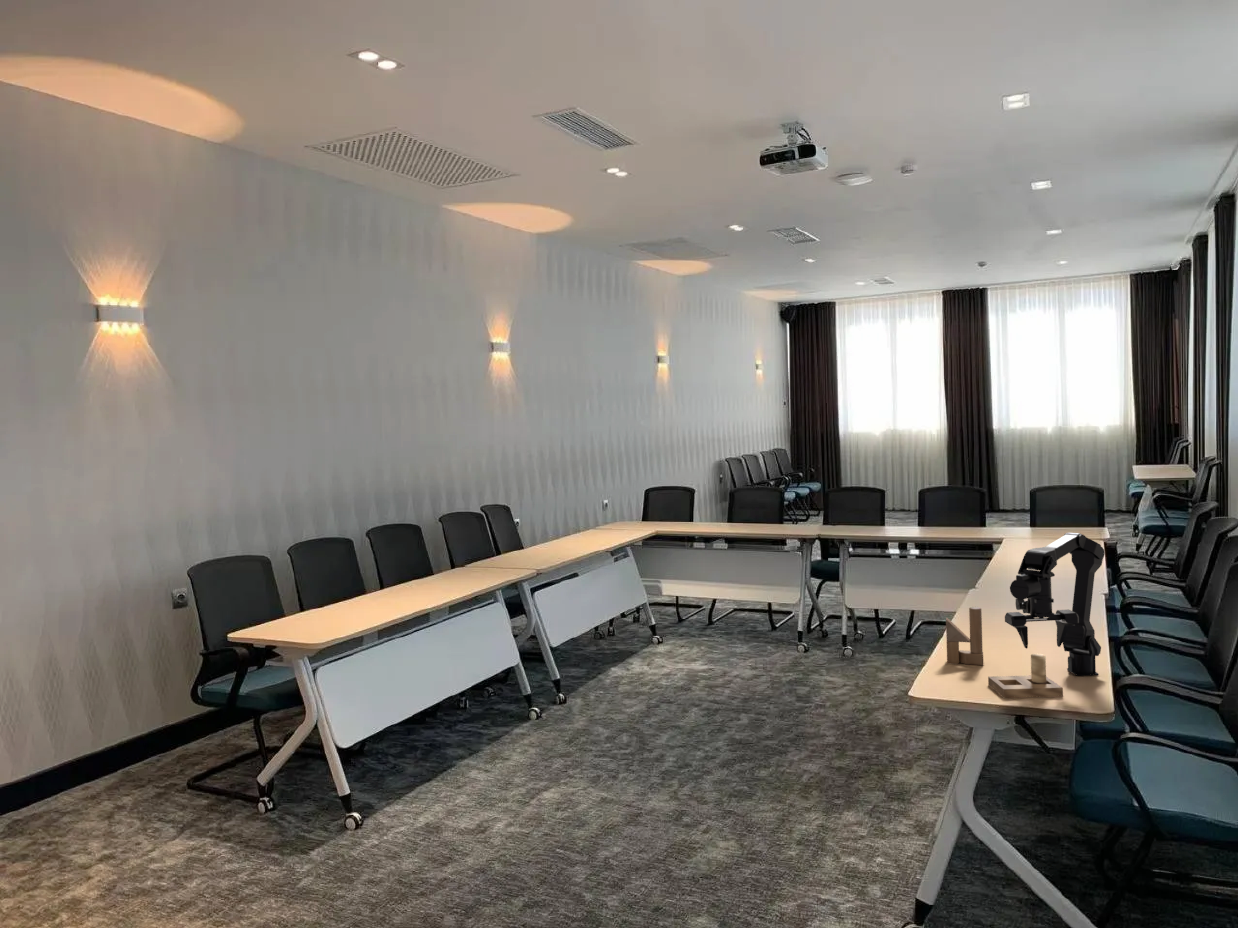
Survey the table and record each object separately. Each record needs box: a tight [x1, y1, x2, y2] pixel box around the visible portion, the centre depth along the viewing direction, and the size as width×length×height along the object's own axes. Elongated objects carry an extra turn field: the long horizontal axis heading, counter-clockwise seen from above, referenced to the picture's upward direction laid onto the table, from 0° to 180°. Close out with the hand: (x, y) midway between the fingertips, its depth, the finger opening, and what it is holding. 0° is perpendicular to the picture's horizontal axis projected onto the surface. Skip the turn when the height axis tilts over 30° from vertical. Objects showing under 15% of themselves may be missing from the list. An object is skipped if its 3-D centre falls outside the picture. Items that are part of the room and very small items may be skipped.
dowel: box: [1030, 653, 1047, 684], centre depth 248 cm, size 4×4×10 cm
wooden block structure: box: [945, 606, 984, 666], centre depth 277 cm, size 4×11×18 cm, turn 68°
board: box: [987, 674, 1064, 699], centre depth 248 cm, size 16×12×2 cm
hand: (1042, 647), depth 250 cm, fingers open, 9 cm apart
